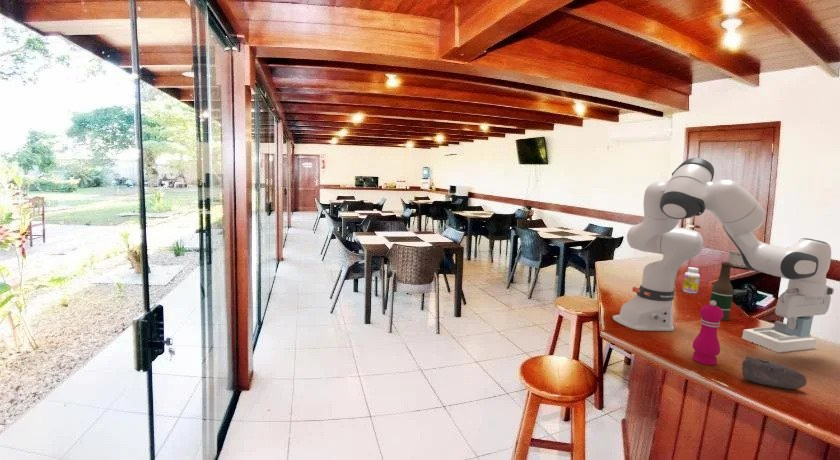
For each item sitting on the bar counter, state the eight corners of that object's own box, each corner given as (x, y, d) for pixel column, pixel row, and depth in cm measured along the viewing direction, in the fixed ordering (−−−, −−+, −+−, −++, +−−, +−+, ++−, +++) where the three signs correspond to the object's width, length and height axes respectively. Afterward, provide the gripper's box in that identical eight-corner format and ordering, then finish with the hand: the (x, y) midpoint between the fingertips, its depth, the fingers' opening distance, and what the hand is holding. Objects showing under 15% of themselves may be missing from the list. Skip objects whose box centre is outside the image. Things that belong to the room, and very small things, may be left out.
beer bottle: (733, 321, 170) (742, 265, 166) (712, 319, 171) (721, 263, 168) (723, 315, 177) (732, 261, 174) (703, 313, 179) (711, 259, 176)
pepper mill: (706, 356, 135) (716, 297, 132) (723, 366, 127) (733, 304, 125) (685, 355, 134) (694, 296, 131) (701, 365, 127) (710, 303, 124)
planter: (749, 270, 276) (752, 255, 274) (726, 267, 284) (729, 252, 283) (751, 267, 285) (754, 253, 283) (729, 264, 293) (731, 250, 292)
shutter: (794, 336, 145) (796, 328, 145) (773, 329, 152) (775, 321, 151) (807, 335, 147) (809, 326, 147) (786, 328, 154) (788, 320, 153)
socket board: (777, 352, 140) (780, 340, 139) (742, 338, 151) (743, 326, 151) (814, 348, 145) (816, 336, 144) (776, 335, 156) (778, 324, 156)
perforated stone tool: (801, 388, 116) (805, 365, 115) (808, 397, 111) (813, 373, 110) (736, 374, 123) (739, 352, 122) (740, 382, 118) (744, 359, 117)
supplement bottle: (679, 290, 216) (682, 266, 214) (688, 289, 218) (692, 266, 216) (690, 294, 209) (694, 269, 207) (700, 293, 211) (704, 269, 209)
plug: (800, 337, 134) (805, 312, 132) (784, 332, 138) (789, 308, 136) (809, 336, 135) (814, 312, 134) (793, 331, 139) (798, 307, 138)
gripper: (795, 292, 128) (787, 334, 130) (837, 289, 134) (829, 329, 136) (773, 286, 134) (765, 326, 136) (814, 283, 140) (806, 322, 142)
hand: (798, 328), depth 136 cm, fingers closed on plug, 4 cm apart
